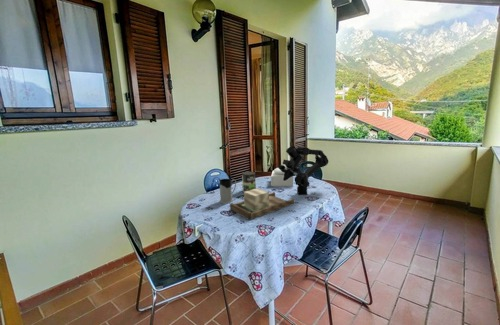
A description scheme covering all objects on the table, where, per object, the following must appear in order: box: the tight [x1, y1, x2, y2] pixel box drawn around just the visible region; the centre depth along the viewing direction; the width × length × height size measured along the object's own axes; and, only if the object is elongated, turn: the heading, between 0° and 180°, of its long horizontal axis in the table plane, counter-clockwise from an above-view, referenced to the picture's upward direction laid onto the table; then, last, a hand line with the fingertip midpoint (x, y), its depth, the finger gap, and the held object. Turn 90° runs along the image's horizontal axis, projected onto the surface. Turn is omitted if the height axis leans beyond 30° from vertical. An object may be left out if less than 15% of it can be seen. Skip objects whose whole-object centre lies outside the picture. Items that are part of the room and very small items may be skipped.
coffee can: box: [241, 171, 257, 193], centre depth 190 cm, size 10×10×14 cm
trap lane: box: [229, 192, 295, 221], centre depth 158 cm, size 36×20×4 cm, turn 126°
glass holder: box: [219, 178, 237, 204], centre depth 171 cm, size 9×14×15 cm, turn 137°
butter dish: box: [270, 164, 294, 187], centre depth 206 cm, size 18×18×16 cm
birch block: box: [243, 187, 270, 210], centre depth 154 cm, size 11×11×9 cm
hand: (283, 180), depth 166 cm, fingers closed
